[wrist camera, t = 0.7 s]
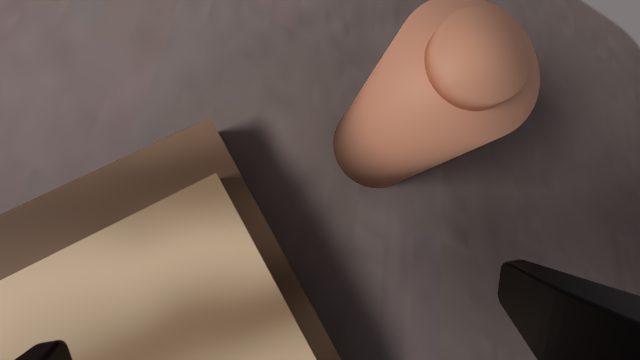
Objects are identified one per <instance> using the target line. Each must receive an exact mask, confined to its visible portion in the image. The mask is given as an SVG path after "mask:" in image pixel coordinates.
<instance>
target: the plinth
mask: <svg viewBox="0 0 640 360" xmlns="http://www.w3.org/2000/svg"><path fill="white" fill-rule="evenodd" d="M54 340H63V341H65V342H66V344H67V346H68V348H69V351H70V354H71V357H72V360H341V358H340V356H339V354H338V353H337V351H336V349H335V347H334V345H333V343H332V342H331V340H330V338H329V336H328V334H327V332H326V330H325V329H324V327H323V325H322V323H321V321H320V319H319V318H318V316H317V314H316V312H315V310H314V308H313V306H312V305H311V303H310V301H309V299H308V297H307V295H306V294H305V292H304V290H303V288H302V286H301V284H300V282H299V281H298V279H297V277H296V275H295V273H294V271H293V270H292V268H291V266H290V264H289V262H288V260H287V258H286V257H285V255H284V253H283V251H282V249H281V247H280V246H279V244H278V242H277V240H276V238H275V236H274V234H273V233H272V231H271V229H270V227H269V225H268V223H267V222H266V220H265V218H264V216H263V214H262V212H261V210H260V209H259V207H258V205H257V203H256V201H255V199H254V198H253V196H252V194H251V192H250V190H249V188H248V186H247V185H246V183H245V181H244V179H243V177H242V175H241V174H240V172H239V170H238V168H237V166H236V164H235V162H234V161H233V159H232V157H231V155H230V153H229V151H228V150H227V148H226V146H225V144H224V142H223V140H222V138H221V137H220V135H219V133H218V131H217V129H216V127H215V126H214V124H213V122H212V120H211V118H208V119H206V120H204V121H202V122H199V123H197V124H195V125H193V126H191V127H189V128H186V129H184V130H182V131H180V132H178V133H176V134H173V135H171V136H169V137H167V138H165V139H163V140H160V141H158V142H156V143H154V144H152V145H150V146H147V147H145V148H143V149H141V150H139V151H137V152H134V153H132V154H130V155H128V156H126V157H124V158H121V159H119V160H117V161H115V162H113V163H111V164H109V165H106V166H104V167H102V168H100V169H98V170H96V171H93V172H91V173H89V174H87V175H85V176H83V177H80V178H78V179H76V180H74V181H72V182H70V183H67V184H65V185H63V186H61V187H59V188H57V189H54V190H52V191H50V192H48V193H46V194H44V195H41V196H39V197H37V198H35V199H33V200H31V201H28V202H26V203H24V204H22V205H20V206H18V207H15V208H13V209H11V210H9V211H7V212H5V213H3V214H0V360H15V359H16V358H18V357H19V356H20V355H22V354H23V353H25V352H26V351H27V350H29V349H30V348H32V347H33V346H34V345H36V344H39V343H43V342H49V341H54Z"/></svg>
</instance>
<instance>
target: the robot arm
mask: <svg viewBox="0 0 640 360" xmlns="http://www.w3.org/2000/svg"><path fill="white" fill-rule="evenodd" d="M498 298H499V301H500V303H501V305H502V307H503V308H504V310H505V311H506V313H507V314H508V316H509V317H510V319H511V320H512V322H513V323H514V325H515V326H516V328H517V329H518V331H519V332H520V334H521V335H522V337H523V338H524V340H525V341H526V343H527V344H528V346H529V347H530V349H531V350H532V352H533V353H534V355H535V356H536V358H537V359H538V360H640V296H638V295H634V294H631V293H628V292H625V291H622V290H618V289H615V288H612V287H609V286H606V285H602V284H599V283H596V282H593V281H589V280H586V279H583V278H580V277H577V276H573V275H570V274H567V273H564V272H561V271H557V270H554V269H551V268H548V267H544V266H541V265H538V264H535V263H532V262H528V261H525V260H514V261H508V262H505V263H503V265H502V266H501V272H500V280H499V288H498ZM15 360H72V357H71V354H70V351H69V348H68V346H67V344H66V342H65V341H63V340H54V341H49V342H43V343H39V344H36V345H34V346H33V347H32V348H30V349H29V350H27V351H26V352H25V353H23V354H22V355H20V356H19V357H18V358H16V359H15Z"/></svg>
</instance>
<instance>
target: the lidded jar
mask: <svg viewBox="0 0 640 360" xmlns="http://www.w3.org/2000/svg"><path fill="white" fill-rule="evenodd" d="M539 88H540V69H539V63H538V59H537V56H536V52H535V50H534V48H533V45H532V43H531V41H530V39H529V38H528V36H527V34H526V33H525V32H524V30H523V29H522V27H521V26H520V25H519V24H518V23H517V22H516V21H515V20H514V19H513V18H512V17H511V16H510V15H509V14H508V13H506V12H505V11H504V10H502V9H501V8H499V7H498V6H496V5H494V4H492V3H490V2H488V1H486V0H430V1H428V2H426V3H424V4H422V5H421V6H420V7H418V8H417V9H416V10H415V11H414V12H413V13H412V14H411V15H410V16H409V17H408V19H407V20H406V21H405V23H404V24H403V26H402V27H401V29H400V30H399V32H398V33H397V35H396V36H395V38H394V40H393V41H392V43H391V44H390V46H389V47H388V49H387V50H386V52H385V53H384V55H383V56H382V58H381V60H380V61H379V63H378V64H377V66H376V67H375V69H374V70H373V72H372V73H371V75H370V76H369V78H368V79H367V81H366V83H365V84H364V86H363V87H362V89H361V90H360V92H359V93H358V95H357V96H356V98H355V99H354V101H353V103H352V104H351V106H350V107H349V109H348V110H347V112H346V113H345V115H344V116H343V118H342V119H341V121H340V122H339V124H338V126H337V128H336V131H335V135H334V143H333V144H334V153H335V156H336V159H337V162H338V164H339V166H340V167H341V169H342V170H343V171H344V173H345V174H346V175H347V176H348V177H350V178H351V179H352V180H354V181H355V182H357V183H359V184H361V185H364V186H367V187H371V188H383V187H388V186H391V185H394V184H396V183H398V182H401V181H403V180H405V179H407V178H410V177H412V176H414V175H416V174H419V173H421V172H423V171H426V170H428V169H430V168H432V167H435V166H437V165H439V164H441V163H444V162H446V161H448V160H450V159H453V158H455V157H457V156H460V155H462V154H464V153H466V152H469V151H471V150H473V149H475V148H478V147H480V146H482V145H484V144H487V143H489V142H491V141H494V140H496V139H498V138H500V137H503V136H505V135H507V134H509V133H511V132H512V131H514V130H515V129H517V128H518V127H519V126H520V125H521V124H522V123H523V122H524V121H525V120H526V119H527V117H528V116H529V115H530V113H531V111H532V110H533V108H534V106H535V103H536V101H537V98H538V93H539Z"/></svg>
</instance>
